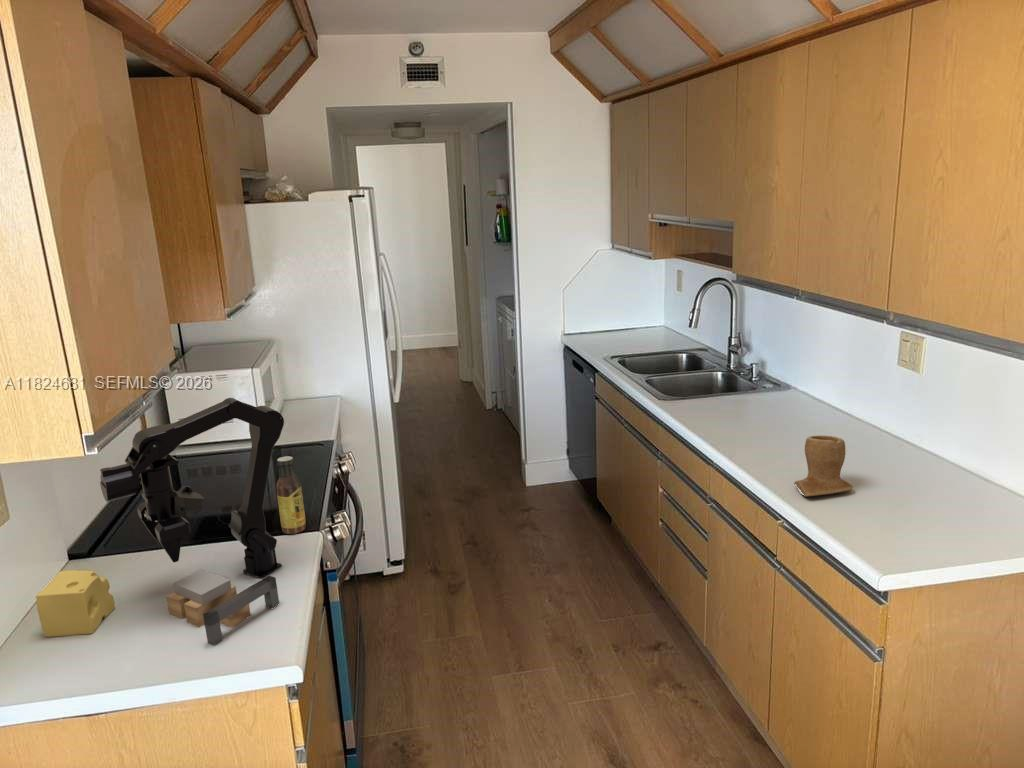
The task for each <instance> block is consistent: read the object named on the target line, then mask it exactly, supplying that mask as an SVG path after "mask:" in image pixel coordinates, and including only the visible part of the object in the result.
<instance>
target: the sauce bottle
mask: <svg viewBox="0 0 1024 768" xmlns="http://www.w3.org/2000/svg"><path fill="white" fill-rule="evenodd" d="M276 462H277V466H278V472H279V474H278V475H279V477H278V479H277V482H276V491H277V492H276V493H277V495H276V497H277V503H278V504H277V505H278V512H279V517H280V518H279V519H280V520H279V521H280V526H281V530H282V532H283V533H284V534H286V535H296V534H299V533H301V532H303V531H305V530H306V526H307V525H306V524H307V523H306V515H305V514H306V513H305V506H304V497H303V490H302V488H303V487H302V484H301V483H300V481H299V479H298V476H297V475H296V471H295V467H294V457H292V456H289V455H287V456H281V457H278V458H277V459H276Z"/></svg>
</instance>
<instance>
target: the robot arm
mask: <svg viewBox="0 0 1024 768" xmlns="http://www.w3.org/2000/svg"><path fill="white" fill-rule="evenodd" d="M234 419H237V420H240V421H243V422H245V423H248V432H249V435H250V441H251V448H250V454H249V460H248V467H247V473H246V479H245V484H244V486H245V487H244V492H243V496H242V503H241V505H240V507H239V508H238V510H234V509H232V510H231V511H230V512H231V513H230V514H231V516H230V517H231V518H230V522H229V524H228V527H229V528H230V532H231V535H232V536H233V537H234V538H235V539H236V540H237V541H238V542H240V543H241V544H242V545H243V546H244V547H246V548H244V549H243V550H244V557H243V561H244V565H245V568H244V569H243V570H242V572H243V573H244V574H246V575H250V576H253V577H257V578H260V579H263V578H265V577H267V576H269V574H271V573H273V572H275V571H276V570H279V569H280V568H281V567H282V566H283V565H282V563H279V562H278V561H277V555H276V553H277V552H276V547H277V543H278V542H277V541H278V540H277V538H275V537H274V536H273V535H272V534H270V533H269V532H268V531H267V530H266V529H267V528H266V526H267V525H266V517H265V514H264V502H265V495H266V490H267V484H268V478H269V471H270V465H271V458H272V454H273V453H272V452H273V449H274V447H275V446H276V444H277V442H278V441H279V440H280V438H281V434H282V432H283V429H284V425H285V419H284V417H283V415H282V414H281V413H280V412H279V411H277V410H275V409H274V408H271V407H269V406H266V405H258V406H254V405H252V404H249V403H246V402H243V401H240V400H237V398H234V397H227V398H224V400H223V401H221V402H217V403H216V404H214V405H211V406H209V407H207V408H204V409H203V410H201V411H198V412H195V413H194V414H191V415H188V416H186V417H185V418H182V419H179V420H177V421H175V422H172V423H168V424H160V425H159V424H158V425H155V426H150V427H147V428H143V429H140V430H139V431H137V432H136V433H134V437H133V438H132V447H131V449H130V451H129V453H128V454H127V456H126V458H125V460H124V462H125V463H123V464H120V465H115V466H110V467H103V468H100V469H99V470H100V481H99V484H100V489H101V493H102V496H103V498H104V501H105V502H106V503H108V502H112V501H115V500H119V499H123V498H126V497H127V498H128V497H131V496H134V495H136V494H137V493H138V492H140V489H141V486H142V492H141V497H142V499H144V501H143V502H140V503H139V505H137V507H136V508H137V510H136V511H137V515H138V517H139V518H140V521H141V522H142V523H143V524H144V526H145V528H146V529H147V530H148V532H149V533H150V534H151V536H152V538H153V539H154V541H156V543H157V545H158V546H159V547H160V549H164V551H165V553H166V554H167V555H168V556H169V558H170V559H171V561H172V562H173V563H176V562H177V563H178V562H179V560H180V554H181V547H182V542H183V539H184V538H185V537H187V536H189V534H191V533H192V528H191V523H190V522H189V521H188V520H187V519H186V518H184V517H182V516H178V515H183V514H182V512H195V513H201V512H202V508H203V504H204V500H205V497H203V496H202V495H201V494H200V493H198V492H196V491H193V489H192V487H191V486H189V485H181V487H180V488H179V490H175V489H174V487H173V482H172V476H171V475H172V474H171V471H170V470H171V469H170V467H171V466H175V465H178V464H180V462H179V460H178V459H177V458H176V457H174V456H172V455H171V453H172V452H175V450H176V449H177V448H178V447H179V446H180V445H181V444H183V443H184V442H186V441H187V440H190V439H192V438H195V437H196V436H198V435H201V434H203V433H205V432H207V431H210V430H212V429H214V428H215V427H218V426H220V425H222V424H225V423H226V422H229V421H232V420H234ZM139 475H140V476H139ZM175 516H177V517H175Z"/></svg>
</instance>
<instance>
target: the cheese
mask: <svg viewBox="0 0 1024 768" xmlns="http://www.w3.org/2000/svg"><path fill="white" fill-rule="evenodd" d="M109 590H110V583H109V580H108V578H106V577H103V576H100V575H99V574H98V573H96V572H95V571H94V570H72V569H71V570H62V571H61V570H60V571H59V572H57V573H56V575H55V576H54V577H53V578H52V580H51V581H50V582H49V583H48V584H47V585H46V586H45V587H44V588H43V589H42V590H41V591H40V592H39V593H37V594H36V596H35V598H36V599H35V600H36V607H37V608H36V609H37V613H38V616H39V622H40V625H41V628H42V632H43V634H44V636H45V638H46V637H48V638H50V637H63V636H76V635H78V636H79V635H92V634H94V632H95V631H96V630H97V629H98V628H99V626H100V625H101V623H102V621H103V619H104V618H107V617H109V615H110V614H111V613H112V612H113V611H114V610H115V607H116V606H115V605H116V604H115V603H116V602H115V598H114V596H113V595H112V594H111V593H110V591H109Z"/></svg>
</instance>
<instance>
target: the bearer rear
mask: <svg viewBox="0 0 1024 768" xmlns="http://www.w3.org/2000/svg"><path fill="white" fill-rule="evenodd" d="M165 598H166V603H167V607H168V608H167V609H168V613H169V616H171V617H175V618H178V619H180V620H183V619H185V618H186V613H185V608H184V604H185V603H186V602H188V601H190V599H187V598H185V597H183V596H180V595H178V594H176V593H175V591H173V592H172V593H170V594H169V595H166V596H165Z"/></svg>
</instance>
